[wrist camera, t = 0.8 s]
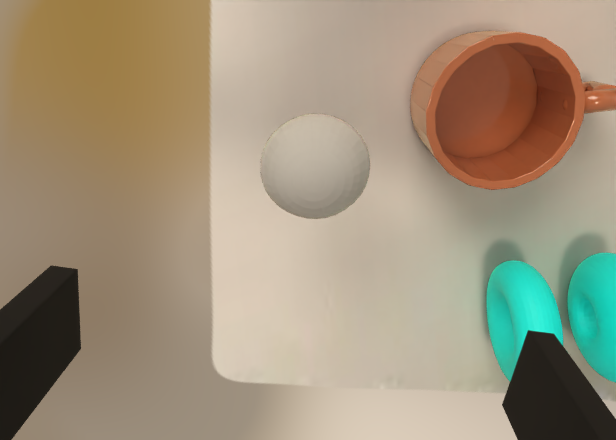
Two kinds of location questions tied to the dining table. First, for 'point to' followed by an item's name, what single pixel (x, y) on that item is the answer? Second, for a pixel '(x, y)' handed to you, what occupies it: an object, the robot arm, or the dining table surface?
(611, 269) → the donuts
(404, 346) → the dining table surface
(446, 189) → the dining table surface
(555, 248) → the dining table surface
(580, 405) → the robot arm
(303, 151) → the lollipop
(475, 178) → the mug
